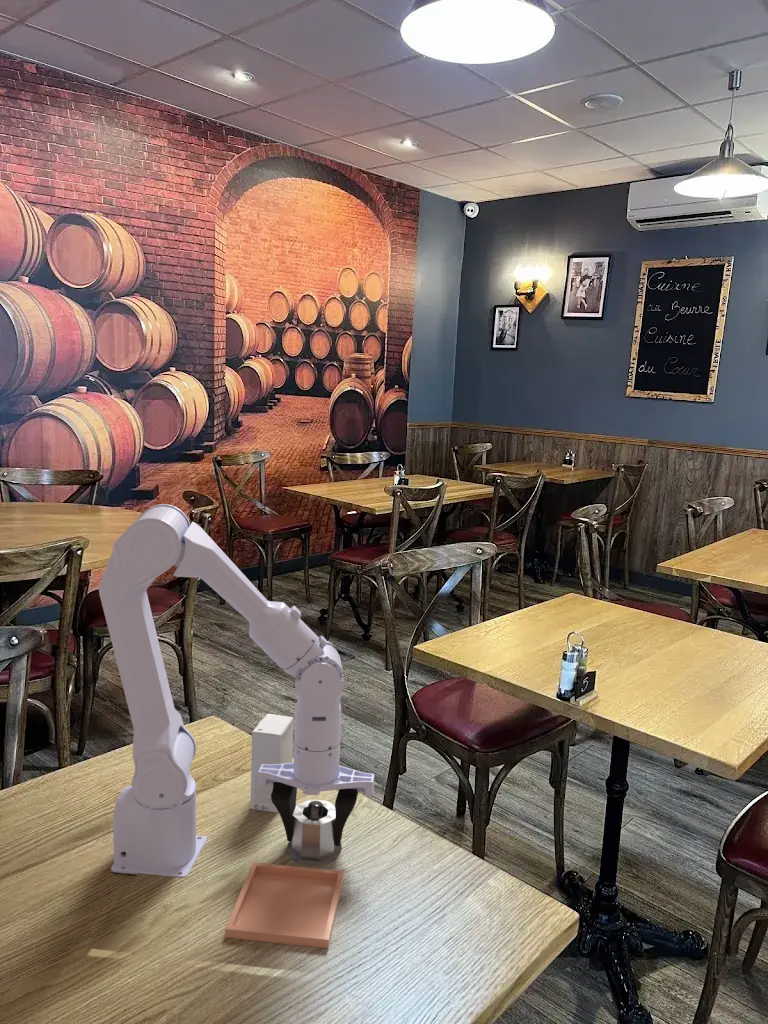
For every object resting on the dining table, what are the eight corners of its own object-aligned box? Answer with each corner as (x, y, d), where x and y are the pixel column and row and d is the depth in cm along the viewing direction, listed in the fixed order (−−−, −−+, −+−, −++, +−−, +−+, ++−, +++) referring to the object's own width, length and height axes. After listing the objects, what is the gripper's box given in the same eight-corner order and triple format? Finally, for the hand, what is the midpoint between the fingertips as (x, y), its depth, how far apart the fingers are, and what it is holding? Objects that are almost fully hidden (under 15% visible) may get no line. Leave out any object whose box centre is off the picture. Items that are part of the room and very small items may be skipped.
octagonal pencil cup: (289, 858, 93) (289, 822, 93) (298, 832, 99) (298, 798, 98) (331, 862, 93) (332, 826, 92) (338, 836, 98) (339, 802, 97)
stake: (281, 865, 93) (282, 818, 92) (293, 831, 100) (294, 787, 99) (337, 871, 92) (338, 823, 91) (345, 836, 99) (346, 792, 98)
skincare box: (279, 816, 103) (280, 735, 101) (249, 811, 104) (250, 731, 102) (293, 792, 109) (294, 716, 107) (265, 788, 110) (266, 712, 108)
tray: (225, 941, 80) (225, 928, 80) (252, 873, 91) (252, 862, 91) (328, 952, 79) (328, 939, 79) (343, 882, 90) (344, 871, 90)
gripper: (251, 751, 90) (250, 852, 92) (371, 761, 89) (367, 864, 91) (266, 724, 97) (265, 819, 99) (377, 733, 96) (373, 829, 98)
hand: (314, 838), depth 96 cm, fingers closed on octagonal pencil cup, 5 cm apart
